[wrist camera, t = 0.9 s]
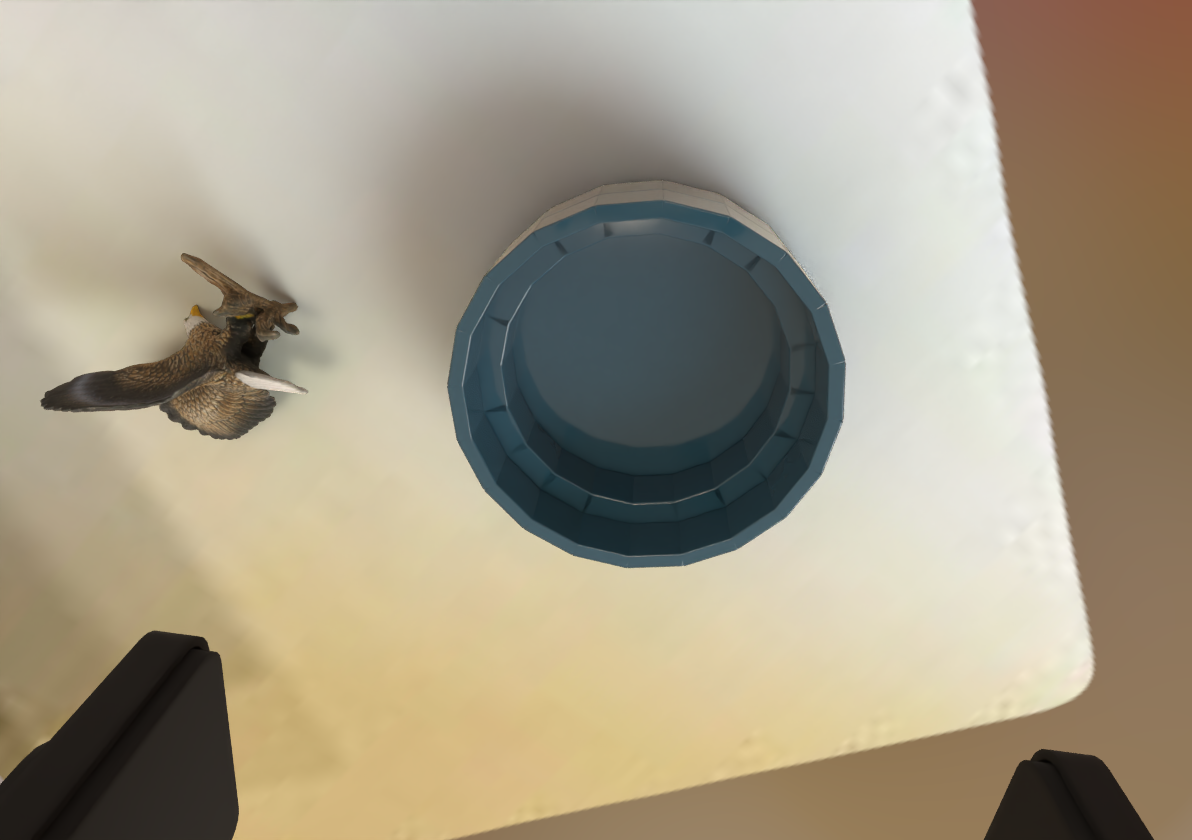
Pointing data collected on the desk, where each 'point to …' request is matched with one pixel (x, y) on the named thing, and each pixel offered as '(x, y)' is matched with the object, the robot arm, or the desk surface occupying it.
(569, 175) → the desk surface
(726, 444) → the bowl
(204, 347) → the eagle figurine
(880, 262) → the desk surface
